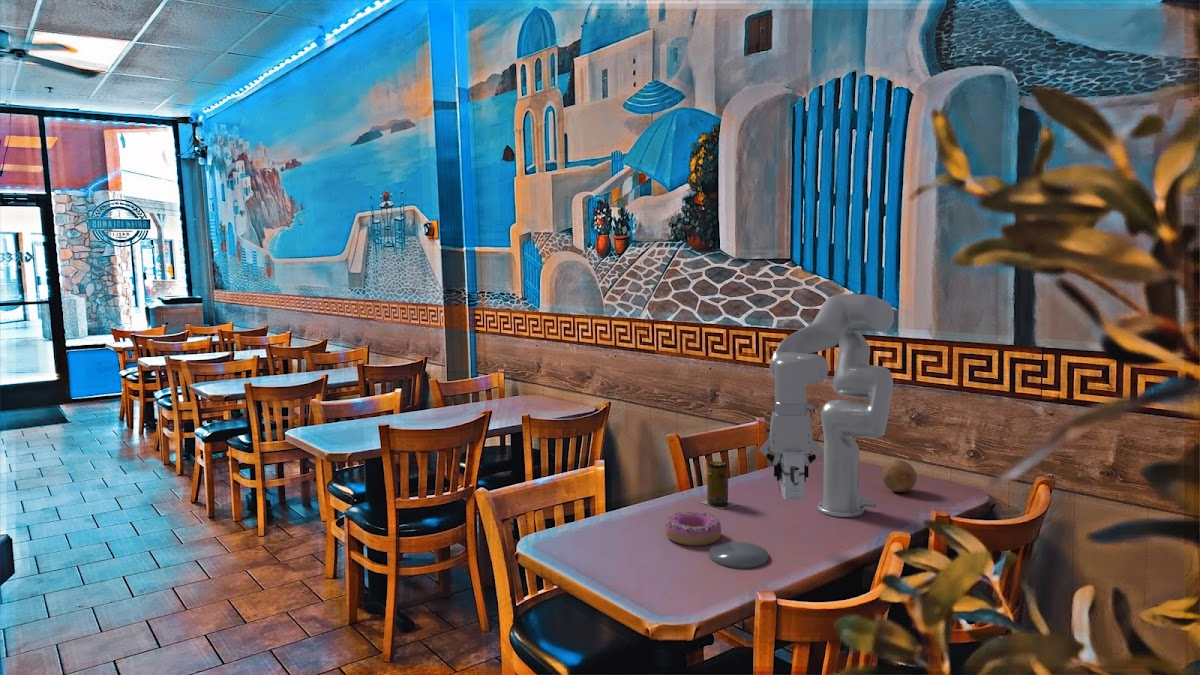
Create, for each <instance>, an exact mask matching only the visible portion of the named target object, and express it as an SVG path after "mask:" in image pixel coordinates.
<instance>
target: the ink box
mask: <svg viewBox="0 0 1200 675" xmlns="http://www.w3.org/2000/svg"><path fill="white" fill-rule="evenodd" d="M779 463H780V480H779V481H778V491H779V493H780V494H781V495H782V497H783V499H784V501H805V482H804V452H783V454H781V456H780V459H779Z"/></svg>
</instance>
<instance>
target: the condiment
mask: <svg viewBox="0 0 1200 675" xmlns="http://www.w3.org/2000/svg"><path fill="white" fill-rule="evenodd" d="M727 467H728V464H727V463H726V462H725V461H711V462H709V463H708V472H707V473H706V474H707V475H706V476H707V477H706V479H707V482H706V484H707V487H706V488H707V491H706V492H707V493H706V494H707V496H706V499H707V500H705V501H701V502H700V504H701V503H702V504H704V505H706V506H710V507H714V508H717V509H720V510H724V509H727V508H728V509H729V508H733V507H734V506H737V505H739V503H737V502H733V501H731V500H729V472H728V468H727Z"/></svg>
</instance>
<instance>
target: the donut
mask: <svg viewBox="0 0 1200 675" xmlns="http://www.w3.org/2000/svg"><path fill="white" fill-rule="evenodd" d="M665 534H666V536H667V537H668V538H669V539H670V540H671V541H673V542H675V543H676V544H681V545H685V546H691V547H693V546H695V547H698V546H699V547H701V546H705V545H706V546H707V545H711V544H714V543H716V542H718V540H719V539H720V538H721V534H722V526H721V522H720V519H719V518H717V517H716V515H712V514H710V513H706V512H700V511H695V512H693V511H684V512H678V513H674V514H672V515H671V516H668V518H667V520H666V523H665Z"/></svg>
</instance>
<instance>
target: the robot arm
mask: <svg viewBox="0 0 1200 675" xmlns="http://www.w3.org/2000/svg"><path fill="white" fill-rule="evenodd" d="M894 320H895V312H894V309H893V306H892V305H891V304H890V302H888V301H886V300H884V299H881V298H879V297H877V296H874V295H870V294H855V293H854V294H853V293H852V294H851V293H840V294H833V295H831V296H829V297H828V298H827V299H826V300H825V302H824V303H823V305H822V307H820V309H819V311H818V313H816V316H815V318H814V319H813V320H812V322H811V323H810V324H809V325H807V326H805V327H803V328H800V329H798V330H797V331H795V332H793V333H791V334H789V335H788V336H786V337H785V338H784V339H783V340H782V341H781V342H780V343H779V345H778V346H777V347H776V349H775V351H774V352H773V354H772V356H771V359H770V362H769V371H770V372H769V373H770V374H771V376H772V377H773V378H774V411H772V413H771V416H770V423H769V424H770V426H769V438H768V439H767V440H766V441H765V442H764V443H763V444H762V446H760V448H759V452H760V453H761V454H762V455H764V456H765V457H766V458H767V459H768V461H770V462H771V463H772V465H773V477H776V482H779V480H780V463H779V459H780V456H781V454H783V452H804V483H806V481H807V480H806V478H809V466H810V465H811V464H812V463H814V461H815V460H816V459H818V457H820V456H821V455H822V454H823V489H822V491H823V495H822V496H823V497H822V500H821V501H819V502H818V503H817V505H816V506H817V510H818V511H819V512H820V513H822V514H824V515H827V516H831V517H837V518H855V517H860V516H861V515H863V514H864V512H865V507H869V508H877V500H875V499H871V498H869V497H865V498H864V497H862V496H860V494H859V489H860V488H859V485H860V484H859V482H860V481H859V480H860V478H859V477H860V448H859V446H858V444H857V442H856V440H855V438H854V437H859V438H865V439H866V438H867V439H873V440H874V439H880V438H881V437H883V435H884V434H885V432H886V429H887V427H888V426H887V425H888V420H889V414H890V409H891V408H890V407H891V401H892V395H893V389H894V388H893V387H894V378H893V374H892V372H891V371H890V369H889V368H887V367H885V366H881V365H873V364H872V365H871V364H869V363H870V362H869V361H870V356H871V347H870V344H868V343H869V342H868V341H867V340H866V338H865V337H864V336H863V334H862V333H861V332H869V333H870V332H871V333H872V332H875V333H884V332H885V333H886V332H887V331H888V330H889V331H890V329H891V328H892V326H893V325H894ZM837 345H838V354H837V360H836V363H835V364H836V365H835V370H834V375H833V384H832V386H833V390H834V392H835V393H836V394H837V395H839V396H842V397H847V398H854V399H855V398H856V399H864V400H869V401H870V402H863V401H854V400H853V401H852V400H847V399H845V400H844V399H832V400H829V401H827V402H826V403H824V404H823V406H822V408H821V410H820V420H821V427H822V431H823V432H822V434H823V449H822V448H821V447H820V445H819V444H818V443H817V442H816V441H815V440H814V438H813V429H812V426H813V425H812V419H811V414H810V412H808V411H810V410H813V409H814V406H813V405H814V404H813V403H809V402H807V393H808V392H807V389H808V388H807V386H808V385H816V384H819V383H822V382H824V380H825V379H826V378H827V376H828V375H829V370H830V369H829V368H830V367H829V362H828V361H827V359H826V358H825V357H824V356H822V355H820V354H815V353H817V352H822V351H826V350H829V349H832V348H834V347H836V346H837ZM768 449H770V451H769V450H768ZM813 449H814V452H813Z"/></svg>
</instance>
